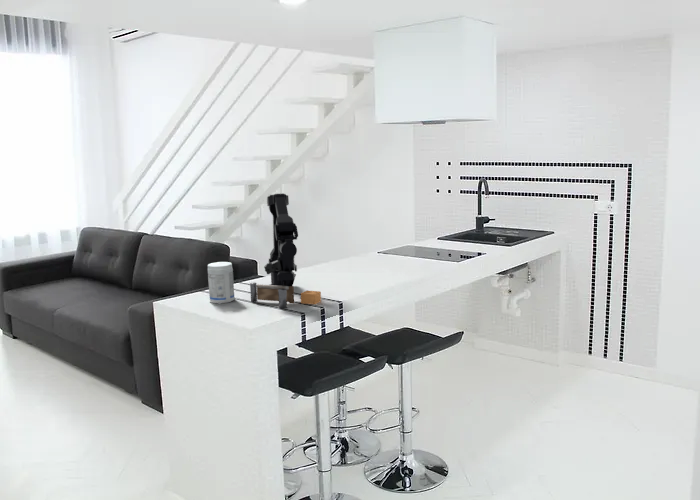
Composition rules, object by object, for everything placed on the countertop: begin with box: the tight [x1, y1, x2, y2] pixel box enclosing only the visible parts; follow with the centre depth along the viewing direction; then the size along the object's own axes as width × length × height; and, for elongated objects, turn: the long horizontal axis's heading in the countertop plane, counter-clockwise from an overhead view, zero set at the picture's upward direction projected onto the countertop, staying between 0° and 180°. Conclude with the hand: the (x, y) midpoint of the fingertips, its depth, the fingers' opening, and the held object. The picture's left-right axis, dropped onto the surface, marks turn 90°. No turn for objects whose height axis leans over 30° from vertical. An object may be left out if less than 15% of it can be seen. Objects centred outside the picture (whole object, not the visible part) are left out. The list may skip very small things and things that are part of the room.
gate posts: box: [249, 282, 288, 310], centre depth 247 cm, size 19×3×7 cm, turn 48°
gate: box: [256, 283, 295, 305], centre depth 249 cm, size 15×1×6 cm, turn 69°
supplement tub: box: [207, 261, 235, 304], centre depth 254 cm, size 10×10×15 cm
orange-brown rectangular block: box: [300, 290, 322, 305], centre depth 250 cm, size 6×5×4 cm
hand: (288, 293), depth 250 cm, fingers closed
